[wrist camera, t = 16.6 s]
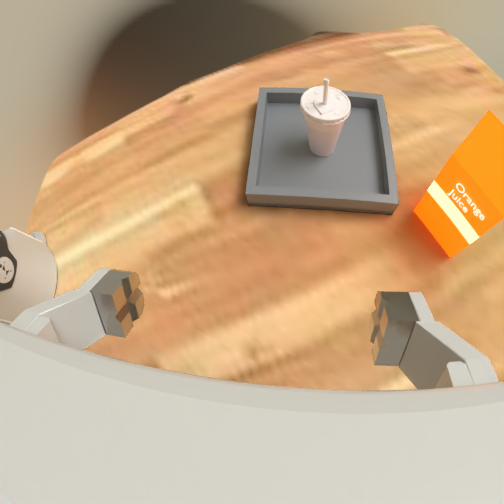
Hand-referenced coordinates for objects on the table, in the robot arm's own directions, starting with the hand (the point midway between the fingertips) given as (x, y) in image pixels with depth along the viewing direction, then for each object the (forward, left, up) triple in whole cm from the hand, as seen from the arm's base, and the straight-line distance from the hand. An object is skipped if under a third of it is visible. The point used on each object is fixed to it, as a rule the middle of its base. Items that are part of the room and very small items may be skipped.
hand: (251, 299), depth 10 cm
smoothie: (+4, +27, -29) cm, 40 cm away
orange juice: (+23, +17, -30) cm, 41 cm away
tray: (+4, +27, -29) cm, 40 cm away
